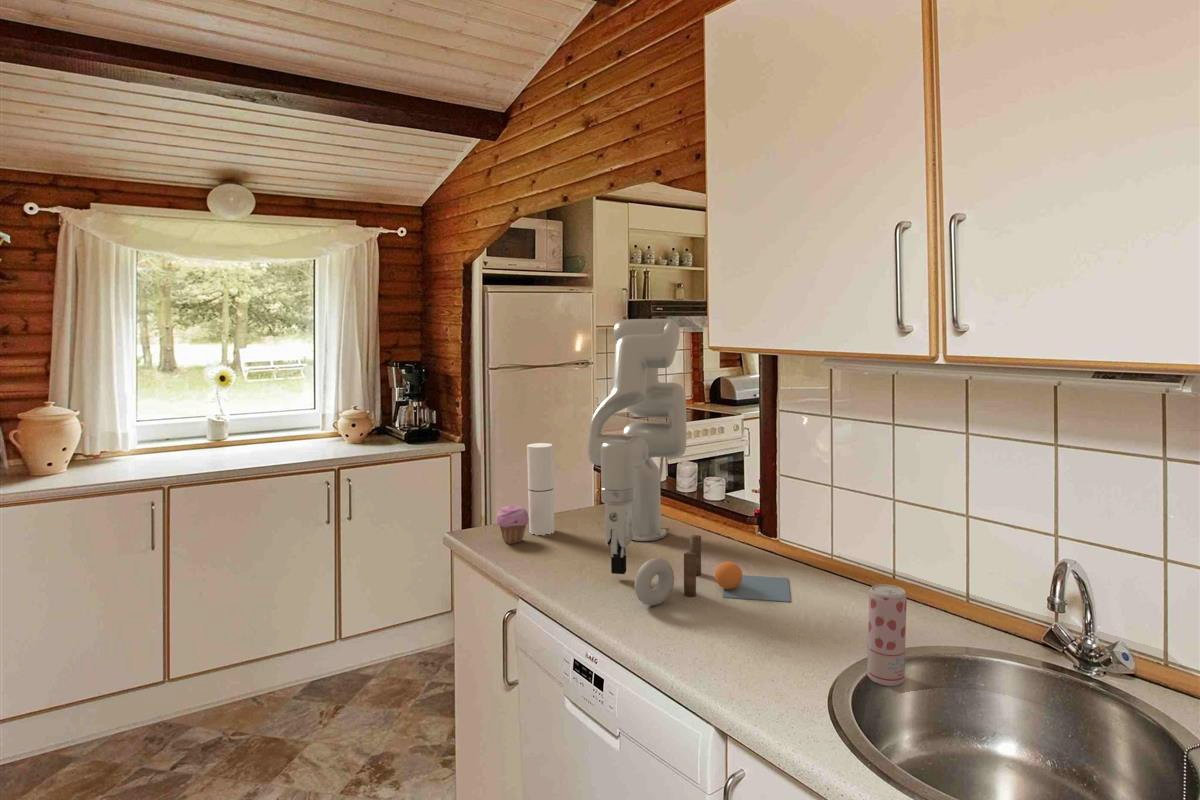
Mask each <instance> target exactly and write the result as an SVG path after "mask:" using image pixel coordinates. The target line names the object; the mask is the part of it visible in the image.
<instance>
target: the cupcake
mask: <svg viewBox="0 0 1200 800" xmlns="http://www.w3.org/2000/svg"><path fill="white" fill-rule="evenodd" d="M495 519H496V521H495V522H496V523H497V525H498V526H499V528H500V531H501V536H502V540H503V541H504V542H505V543H507V544H508V545H513V544H517V543H520V542H522V540H523V538H524V536H525V532H526V526H527V525H528V524H529V512H528V511H527V510H526V508H525V507H524V506H521V505H505V506H503V507H501V508H500V509H499V511H498V513H497V514H496V516H495Z"/></svg>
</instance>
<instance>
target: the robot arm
mask: <svg viewBox="0 0 1200 800" xmlns="http://www.w3.org/2000/svg"><path fill="white" fill-rule="evenodd" d="M680 335H681V334H680V328H679V324H678V323H677V321H676V320H674V319H672V318H634V319H633V318H630V319H624V320H619V321H618V322H616V323H615V324H614V327H613V337H614V342H615V346H614V356H613V357H614V358H613V369H612V380H611V388H610V389H611V391H610V393H609V395H608V396H606V398H605V399H603V401H602V402H601V403H600V404H599V405H598V406H597V408H596V409H595V412H594V413H593V415H592V417H591V419H590V425H589V430H588V440H587V456H588V459H589V461H590V463H592V464H593V465H594V466H600V478H601V479H600V481H601V482H600V483H601V484H600V485H601V487H600V488H601V489H600V494H601V503H603V504H605V511H604V513H605V514H604V515H605V516H604V530H605V531H604V535H605V536H604V537H605V538H604V539H605V540H604V541H605V545H606V546H607V548H609V547H610V556H611V557H610V564H611V565H610V568H611V569H610V570H611V572H610V573H611V574H613V575H625V574H626V572H627V555H626V553H627V547H628V546H629V545H630V543H631V542H632V541H638V542H651V541H657V540H661V539H663V538H666V536H667V529H666V528H664V527H662V526H661V524H662V521H661V518H662V516H661V513H662V512H661V472H660V469H659V467H658V466H657V463H656V462H655V461H654V460H653V459H652V458H672V459H673V458H674V459H675V458H681V457H682V456H683V455H684V454H685V453H686V449H687V398H686V397H687V396H686V391H685V389H684V387H683V386H682V385H681V384H680V383H676V382H660V381H659V369H667V368H669V367H670V366H671V365H672V364H673V362H674V359H675V355H676V352H677V349H678V347H679V344H680V343H679V342H680ZM625 409H628V410H627V411H628V412H629V414H630V415H631V416H633V417H638V418H664V419H665V418H666V419H667V420H668V421H669V422H658V421H657V422H655V421H637V422H636V421H635V422H632V423H629V424H627V425H626V426H624V428H623V430H622V434H610V433H609V434H608V433H607V434H603V430H604V426H605V424H606V423H607V421H608V420H609V419H610V418H612V416H614V415H615V414H618V413H619V412H621V411H623V410H625Z"/></svg>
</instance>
